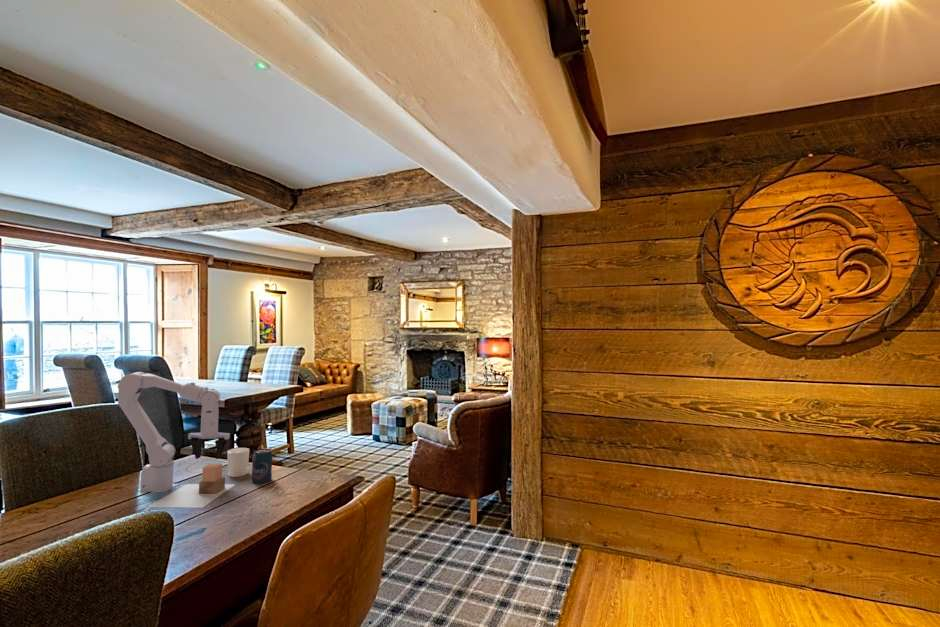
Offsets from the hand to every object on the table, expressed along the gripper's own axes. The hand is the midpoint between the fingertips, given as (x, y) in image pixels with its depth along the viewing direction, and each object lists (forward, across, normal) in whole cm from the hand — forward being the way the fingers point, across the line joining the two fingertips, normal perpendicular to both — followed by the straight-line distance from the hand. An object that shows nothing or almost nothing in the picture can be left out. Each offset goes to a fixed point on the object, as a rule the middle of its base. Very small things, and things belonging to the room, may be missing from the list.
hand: (208, 458), depth 170 cm
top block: (+5, +6, -8) cm, 11 cm away
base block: (+9, +6, -8) cm, 14 cm away
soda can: (+10, +19, +3) cm, 22 cm away
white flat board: (+10, +2, -12) cm, 16 cm away
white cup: (+10, +6, +11) cm, 16 cm away
